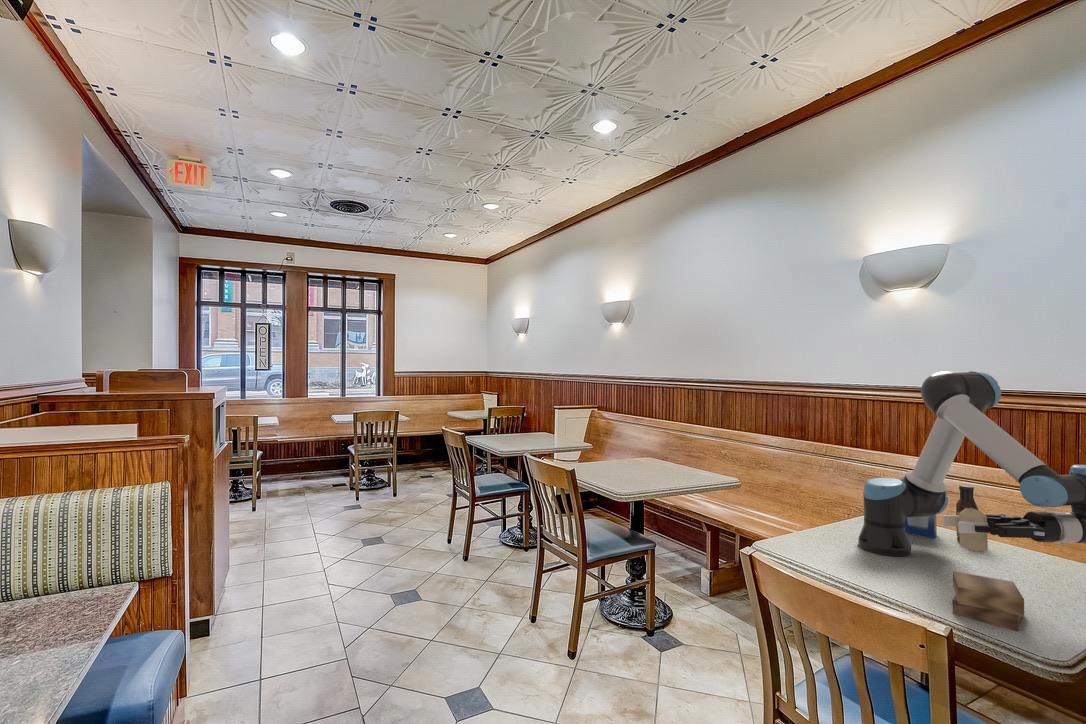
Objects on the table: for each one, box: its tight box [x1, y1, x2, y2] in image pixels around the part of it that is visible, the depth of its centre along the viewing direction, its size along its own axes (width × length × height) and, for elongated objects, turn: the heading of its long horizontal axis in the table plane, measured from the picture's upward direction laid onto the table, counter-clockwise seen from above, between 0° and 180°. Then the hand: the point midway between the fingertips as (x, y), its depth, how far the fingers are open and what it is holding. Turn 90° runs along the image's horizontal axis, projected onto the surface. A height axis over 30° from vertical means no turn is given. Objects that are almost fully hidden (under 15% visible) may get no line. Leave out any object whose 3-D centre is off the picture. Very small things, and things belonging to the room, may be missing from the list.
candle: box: [959, 508, 989, 552], centre depth 132 cm, size 6×6×10 cm
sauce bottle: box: [955, 484, 980, 543], centre depth 181 cm, size 7×6×20 cm
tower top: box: [952, 570, 1025, 617], centre depth 127 cm, size 12×12×4 cm
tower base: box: [951, 594, 1024, 632], centre depth 127 cm, size 12×12×4 cm
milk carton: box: [900, 476, 938, 539], centre depth 191 cm, size 10×6×20 cm, turn 46°
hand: (951, 523), depth 133 cm, fingers closed on candle, 5 cm apart
